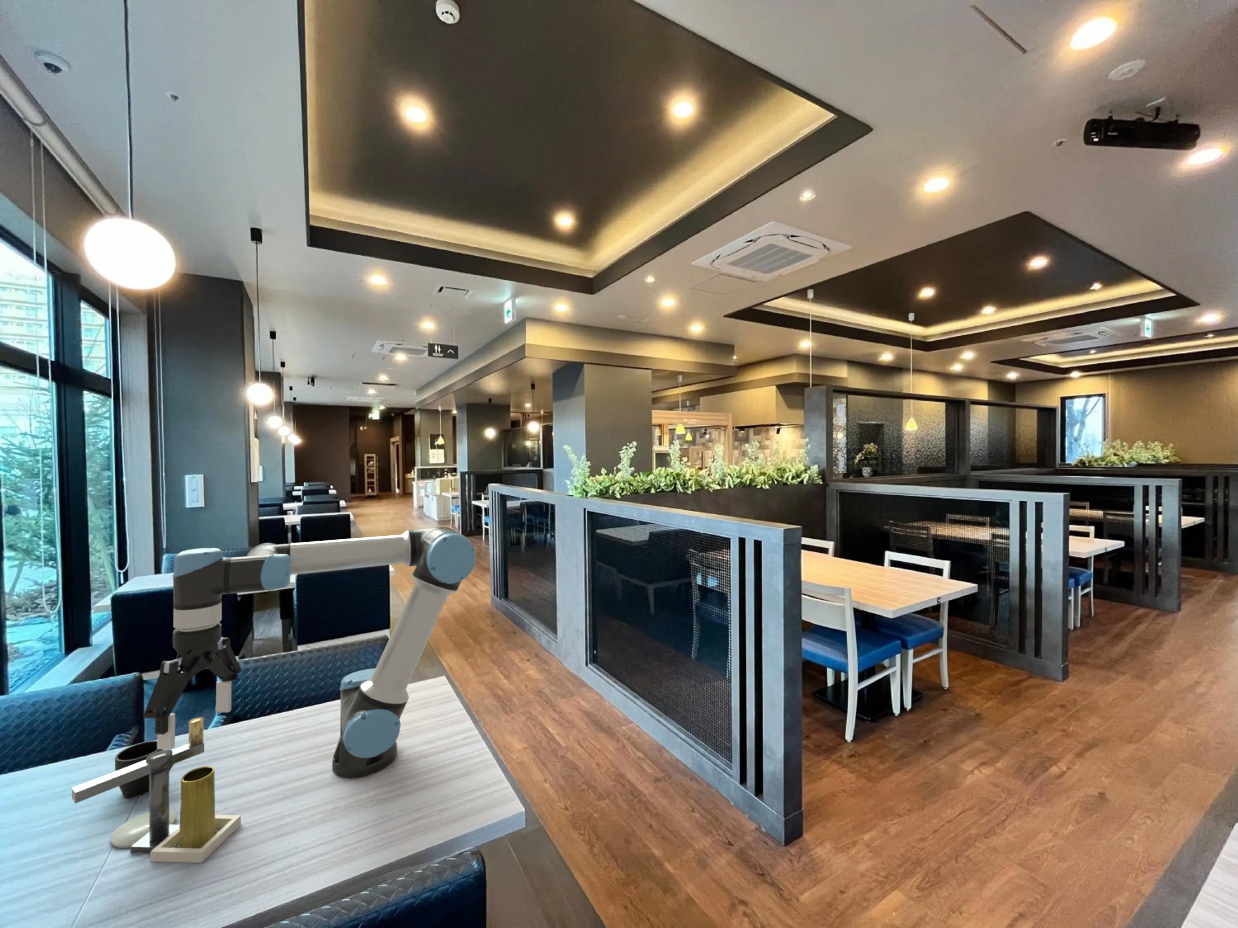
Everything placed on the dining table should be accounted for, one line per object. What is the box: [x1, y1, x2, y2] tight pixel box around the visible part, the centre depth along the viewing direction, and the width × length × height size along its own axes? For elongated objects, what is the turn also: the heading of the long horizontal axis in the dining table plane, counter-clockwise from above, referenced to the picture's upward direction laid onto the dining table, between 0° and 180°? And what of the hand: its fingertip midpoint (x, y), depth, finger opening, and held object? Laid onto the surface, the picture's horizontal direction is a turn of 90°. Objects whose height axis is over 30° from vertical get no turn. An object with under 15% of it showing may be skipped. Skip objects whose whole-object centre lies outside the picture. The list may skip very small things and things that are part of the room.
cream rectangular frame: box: [150, 814, 242, 864], centre depth 102 cm, size 10×10×2 cm
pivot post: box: [129, 768, 180, 854], centre depth 102 cm, size 6×6×15 cm
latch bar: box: [71, 717, 205, 804], centre depth 99 cm, size 19×4×7 cm, turn 147°
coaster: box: [110, 808, 177, 849], centre depth 105 cm, size 10×10×1 cm
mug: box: [114, 740, 175, 799], centre depth 117 cm, size 8×12×10 cm
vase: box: [177, 765, 218, 849], centre depth 101 cm, size 6×6×14 cm
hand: (196, 728), depth 101 cm, fingers open, 13 cm apart
